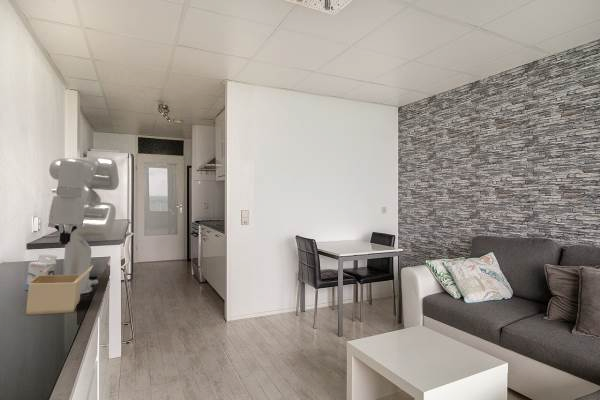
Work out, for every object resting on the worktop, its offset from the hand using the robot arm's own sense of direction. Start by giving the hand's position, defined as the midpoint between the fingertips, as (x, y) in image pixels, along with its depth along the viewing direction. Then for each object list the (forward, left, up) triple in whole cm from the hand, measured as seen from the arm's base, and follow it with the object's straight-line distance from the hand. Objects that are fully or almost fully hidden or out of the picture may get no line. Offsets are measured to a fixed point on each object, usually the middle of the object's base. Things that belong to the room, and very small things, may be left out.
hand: (64, 244), depth 122 cm
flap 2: (-5, +5, -10) cm, 13 cm away
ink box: (-12, -28, -23) cm, 38 cm away
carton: (+1, -1, -23) cm, 23 cm away
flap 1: (+4, -4, -11) cm, 12 cm away
